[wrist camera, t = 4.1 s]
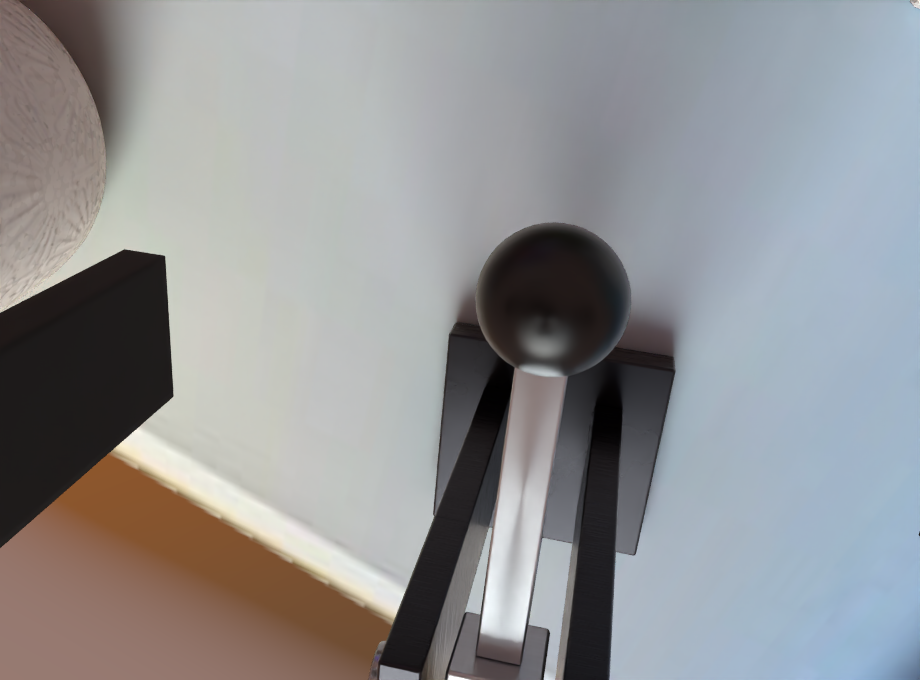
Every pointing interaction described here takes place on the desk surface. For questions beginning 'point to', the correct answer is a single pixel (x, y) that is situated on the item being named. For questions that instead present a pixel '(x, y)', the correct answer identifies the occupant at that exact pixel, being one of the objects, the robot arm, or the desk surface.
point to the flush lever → (534, 419)
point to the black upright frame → (568, 510)
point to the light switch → (916, 3)
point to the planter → (43, 154)
